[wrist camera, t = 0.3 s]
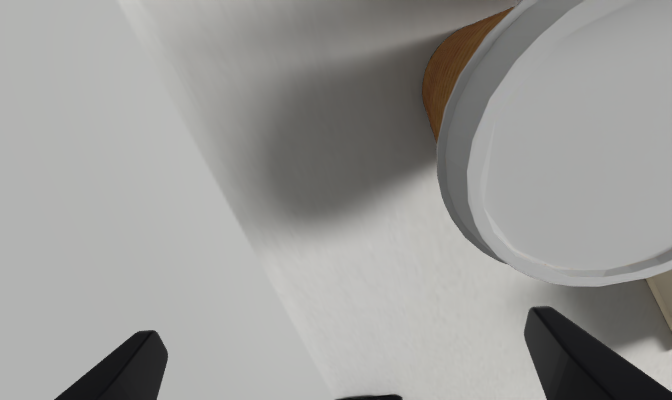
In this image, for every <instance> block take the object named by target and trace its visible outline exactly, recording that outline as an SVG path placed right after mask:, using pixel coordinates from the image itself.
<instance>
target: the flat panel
mask: <svg viewBox="0 0 672 400" xmlns="http://www.w3.org/2000/svg"><path fill="white" fill-rule="evenodd" d="M645 279H646V281H647V283H648V285H649V287H650V289H651V291H652V293H653V295H654V297H655V299H656V301H657V303H658V305H659V307H660V309H661V311H662V313H663V315H664V317H665V319H666V321H667V323H668V326H669V328H670V330H671V332H672V269H671V270H668V271H666V272H663V273H660V274H657V275H654V276H652V277H649V278H645Z"/></svg>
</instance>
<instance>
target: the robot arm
mask: <svg viewBox="0 0 672 400" xmlns="http://www.w3.org/2000/svg"><path fill="white" fill-rule="evenodd" d="M524 337H525V341H526V344H527V347H528V349H529V352H530V355H531V358H532V360H533V363H534V366H535V368H536V371H537V374H538V377H539V379H540V382H541V385H542V388H543V390H544V393H545V396H546V398H547V400H672V392H671V391H669V390H668V389H666V388H665V387H664V386H662V385H661V384H659V383H658V382H657V381H655V380H654V379H652V378H651V377H649V376H648V375H647V374H645V373H644V372H642V371H641V370H640V369H638V368H637V367H635V366H634V365H633V364H631V363H630V362H628V361H627V360H625V359H624V358H623V357H621V356H620V355H618V354H617V353H616V352H614V351H613V350H611V349H610V348H609V347H607V346H606V345H604V344H603V343H601V342H600V341H599V340H597V339H596V338H594V337H593V336H592V335H590V334H589V333H587V332H586V331H585V330H583V329H582V328H580V327H579V326H577V325H576V324H575V323H573V322H572V321H570V320H569V319H568V318H566V317H565V316H563V315H562V314H561V313H559V312H558V311H556V310H555V309H553V308H551V307H549V306H540V307H532V308H530V310H529V312H528V316H527V321H526V325H525V329H524ZM167 360H168V353H167V349H166V348H165V346H164V344H163V342H162V340H161V338H160V336H159V335H158V333H157V332H156V331H154V330H148V331H139V332H137V333H135V334H134V335H133V336H131V337H130V338H129V339H128V340H126V341H125V342H124V343H123V344H122V345H120V346H119V347H118V348H117V349H115V350H114V351H113V352H112V353H111V354H109V355H108V356H107V357H106V358H104V359H103V360H102V361H101V362H100V363H98V364H97V365H96V366H95V367H93V368H92V369H91V370H90V371H89V372H87V373H86V374H85V375H84V376H82V377H81V378H80V379H79V380H78V381H76V382H75V383H74V384H73V385H72V386H71V387H69V388H68V389H67V390H65V391H64V392H63V393H62V394H61V395H59V396H58V397H57V398H56V399H54V400H157V396H158V392H159V389H160V385H161V382H162V378H163V375H164V371H165V368H166V364H167ZM355 400H403V399H402V397H400V396H390V397H378V398H367V399H355Z"/></svg>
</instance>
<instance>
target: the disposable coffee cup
mask: <svg viewBox="0 0 672 400" xmlns="http://www.w3.org/2000/svg"><path fill="white" fill-rule="evenodd" d="M422 96H423V103H424V106H425V109H426V112H427V115H428V118H429V121H430V125H431V128H432V130H433V133H434V137H435V140H436V143H437V146H436V152H437V176H438V182H439V186H440V190H441V194H442V198H443V201H444V204H445V206H446V208H447V210H448V212H449V214H450V217H451V218H452V220H453V221H454V223H455V224H456V225H457V227H458V228H459V230H460V231H461V232H462V234H463V235H464V237H465V238H467V239H468V240H469V241H470V242H471V243H472V244H474V245H475V246H476V247H477V248H478V249H480V250H481V251H482V252H483V253H485V254H487V255H489V256H490V257H492V258H494V259H496V260H497V261H500V262H502V263H505V264H508V265H510V266H511V267H513V268H514V269H515V270H517V271H520V272H522V273H524V274H526V275H528V276H530V277H532V278H536V279H539V280H542V281H545V282H548V283H552V284H559V285H566V286H585V287H600V286H606V285H611V284H617V283H622V282H628V281H633V280H639V279H644V278H649V277H652V276H654V275H657V274H660V273H663V272H666V271H668V270H671V269H672V0H522V1H521V2H520V3H519V4H518V5H517V6H515V7H512V8H510V9H507V10H505V11H503V12H500V13H498V14H495V15H493V16H491V17H488V18H486V19H483V20H481V21H479V22H476V23H474V24H472V25H468V26H466V27H464V28H462V29H460V30H458V31H456V32H455V33H453V34H452V35H451V36H449V37H448V38H447V39H446V40H445V41H444V42H443V43H442V44H441V45H440V46H439V47H438V48H437V50H436V51H435V53H434V54H433V56H432V57H431V59H430V61H429V63H428V65H427V68H426V70H425V74H424V79H423V84H422Z"/></svg>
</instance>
